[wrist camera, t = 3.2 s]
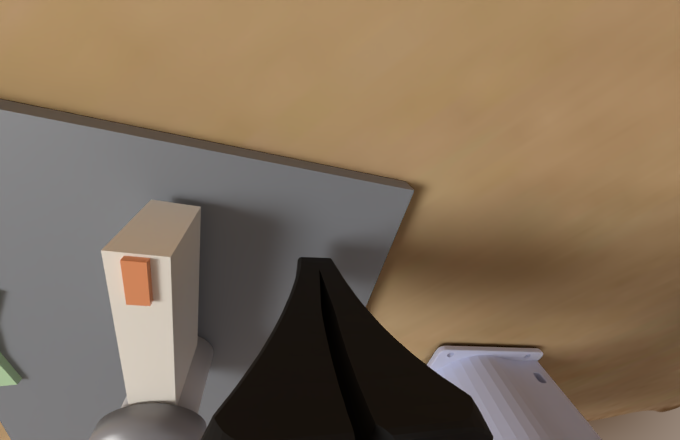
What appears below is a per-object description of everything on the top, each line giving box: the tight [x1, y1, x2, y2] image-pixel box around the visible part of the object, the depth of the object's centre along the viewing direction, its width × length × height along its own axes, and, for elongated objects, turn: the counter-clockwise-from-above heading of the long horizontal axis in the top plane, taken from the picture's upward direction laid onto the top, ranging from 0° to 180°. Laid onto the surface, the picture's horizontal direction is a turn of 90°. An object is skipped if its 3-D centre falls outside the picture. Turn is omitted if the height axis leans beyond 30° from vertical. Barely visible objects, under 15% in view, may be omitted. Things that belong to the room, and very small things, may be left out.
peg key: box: [89, 200, 213, 440], centre depth 11 cm, size 11×4×4 cm, turn 165°
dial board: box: [0, 99, 414, 440], centre depth 15 cm, size 18×22×1 cm
